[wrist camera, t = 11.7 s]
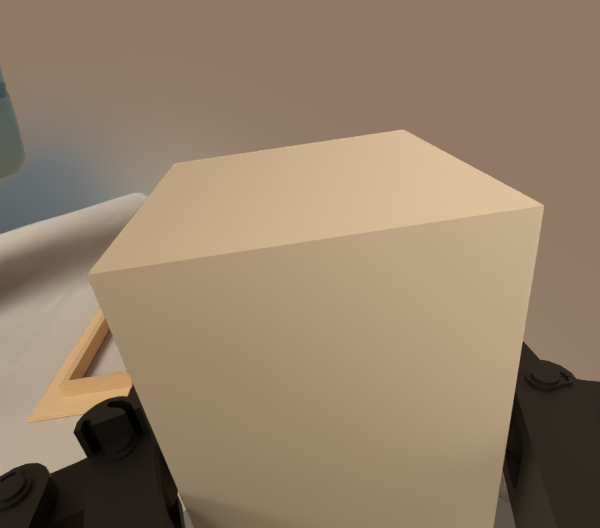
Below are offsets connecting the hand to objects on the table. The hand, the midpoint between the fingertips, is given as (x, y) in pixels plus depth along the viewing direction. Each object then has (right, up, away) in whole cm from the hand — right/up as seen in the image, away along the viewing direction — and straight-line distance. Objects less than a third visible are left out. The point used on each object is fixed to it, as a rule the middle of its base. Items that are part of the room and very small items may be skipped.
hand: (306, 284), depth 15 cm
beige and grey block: (+1, -8, -2) cm, 8 cm away
